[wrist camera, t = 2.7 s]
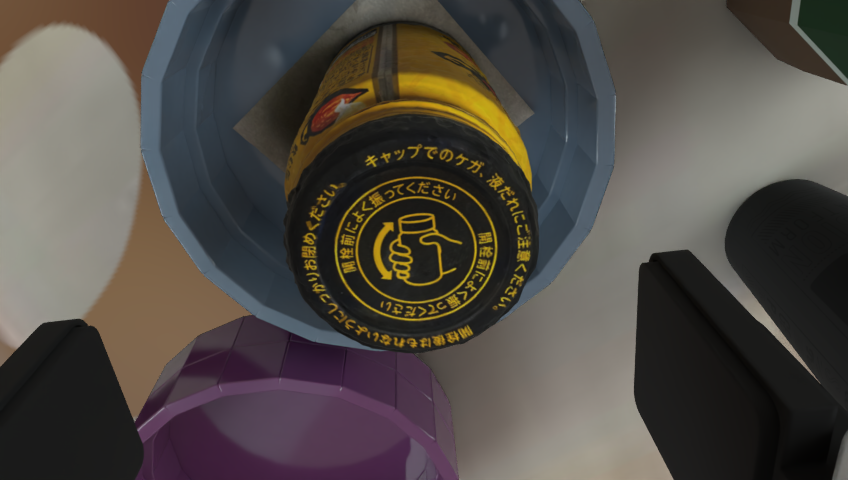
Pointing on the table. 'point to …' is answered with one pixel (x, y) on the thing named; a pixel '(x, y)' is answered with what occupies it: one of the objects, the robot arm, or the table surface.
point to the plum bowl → (294, 412)
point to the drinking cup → (799, 271)
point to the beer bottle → (801, 32)
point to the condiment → (401, 178)
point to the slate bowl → (264, 182)
